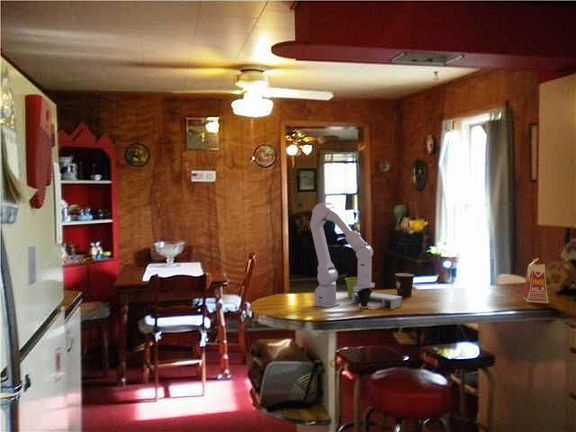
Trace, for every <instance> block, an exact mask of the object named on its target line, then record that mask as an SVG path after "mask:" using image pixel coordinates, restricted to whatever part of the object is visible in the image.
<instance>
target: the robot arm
mask: <svg viewBox="0 0 576 432" xmlns="http://www.w3.org/2000/svg"><path fill="white" fill-rule="evenodd" d="M311 212H312V214H311V219H310V222H309V226H310V229H311V230H310V231H311V234H312V239H313V243H314V247H315V252H316V256H317V257H316V258H317V261H318V265H317V282H318V283H319V285H318V286H317V287H316V288H315V289H314V303H313V304H312V305H313V306H316V307H320V306H321V307H322V308H326V309H327V308H328V309H329V308H331V307H335V306H340V304H341V303H340V302H337V283H336V281H337V280H338V278H339V273H338V270H337V269H336V268H335V264H334V263H333V262H332V261H331V255H330V252H329V247H328V243H327V238H326V235H325V230H324V225H325V224H326V222H327V221H331V222H333V223H334V224H335V225H336V226H337V227H338V228H339V229H340V230H341V232H342V234H344V236H345V241H346V242H347V243H348V245H349V246H350V248H352V250H353V251H354V252H355V255H356V258H357V278H358V282H357V285H356V286H354V287H353V291H355V292H357V294H358V296H359V299H360V302H359V304H360V303H361V306H362V307H367V304H368V300H369V297H370V295H371V293H373V289H372V288H375V286H376V283H375V282H372V257H373V255H374V249H373V248H372V246H371V245H369V244H368V242H367V241H365V240H364V239H363V238H362V236H361V233H360V232H357V231H355V230H352V229H351V227H350V226H349V224H348V223H347V222H346V220H345V218H343V216H342V215H341V214H340V212H339V210H338V209H337V208H336V207H335V206H334V204H332V203H330V202H326V203H322V202H321V203H320V202H319V203H317V204H316V205H315V207H313V209H312V211H311Z"/></svg>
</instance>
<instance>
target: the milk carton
mask: <svg viewBox="0 0 576 432" xmlns="http://www.w3.org/2000/svg"><path fill="white" fill-rule="evenodd" d="M527 265H528V266H527V271H526V277H525V281H524V290H523V300H525V302H526V303H536V304H537V303H539V304H549V296H548V291H547V280H546V264H545V263H543V262H541V261H540V260H539V257H536V258H535V259H532V262H531V263H529V264H527Z"/></svg>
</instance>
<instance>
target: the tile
mask: <svg viewBox="0 0 576 432" xmlns="http://www.w3.org/2000/svg"><path fill="white" fill-rule="evenodd" d="M360 307H362V306H361V303H360V302H359V303H358V308H360ZM379 307H380V308H383V307H382V301H380V300H370V301H368V304H367V307H362V308H361V309H366V308H368V310H377V309H379ZM376 308H377V309H376Z"/></svg>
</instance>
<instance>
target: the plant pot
mask: <svg viewBox="0 0 576 432" xmlns="http://www.w3.org/2000/svg"><path fill="white" fill-rule="evenodd" d="M344 280H345V283H346V289H347V297H348V298H349V299H352V294H353V293H356V292H355V291H353V287H354V286H356V285H357V282H358V276H357V277H355V276H351V277H345V278H344Z"/></svg>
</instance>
